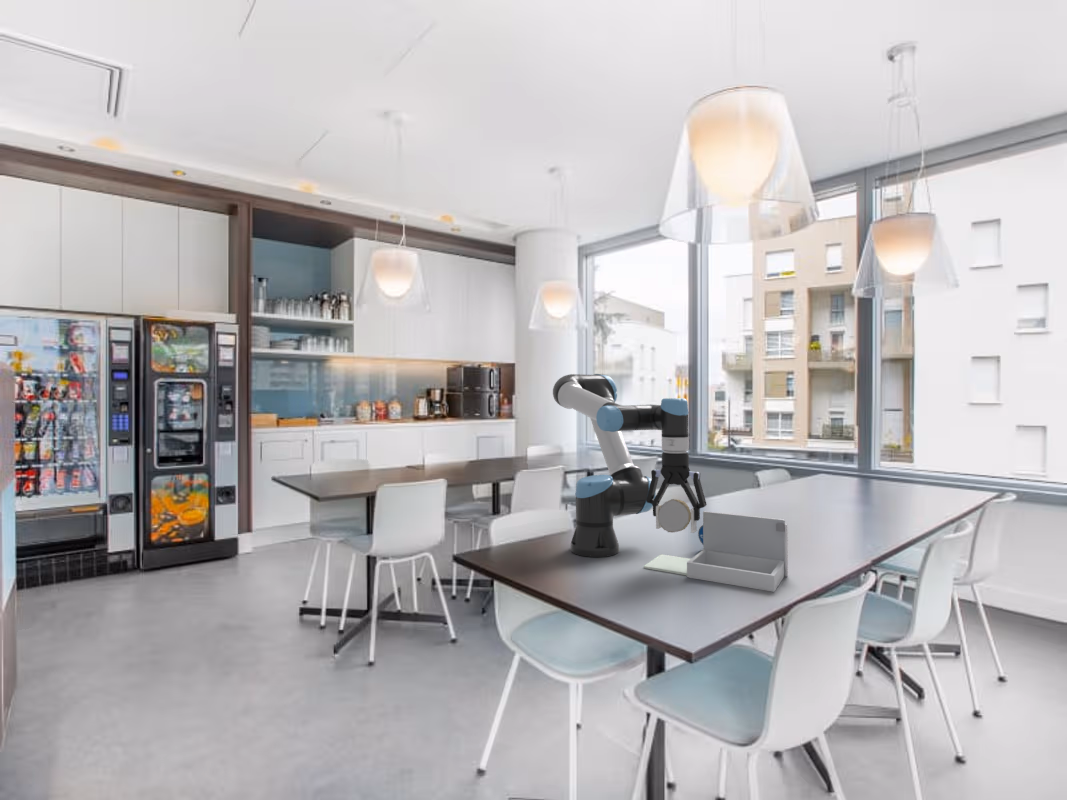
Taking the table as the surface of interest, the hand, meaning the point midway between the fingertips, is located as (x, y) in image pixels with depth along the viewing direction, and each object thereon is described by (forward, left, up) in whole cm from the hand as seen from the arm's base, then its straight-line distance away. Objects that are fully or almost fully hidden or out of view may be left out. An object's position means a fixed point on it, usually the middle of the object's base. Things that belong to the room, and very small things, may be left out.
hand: (676, 529), depth 163 cm
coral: (0, 0, 0) cm, 0 cm away
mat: (0, 0, -10) cm, 10 cm away
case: (+17, -1, -10) cm, 20 cm away
